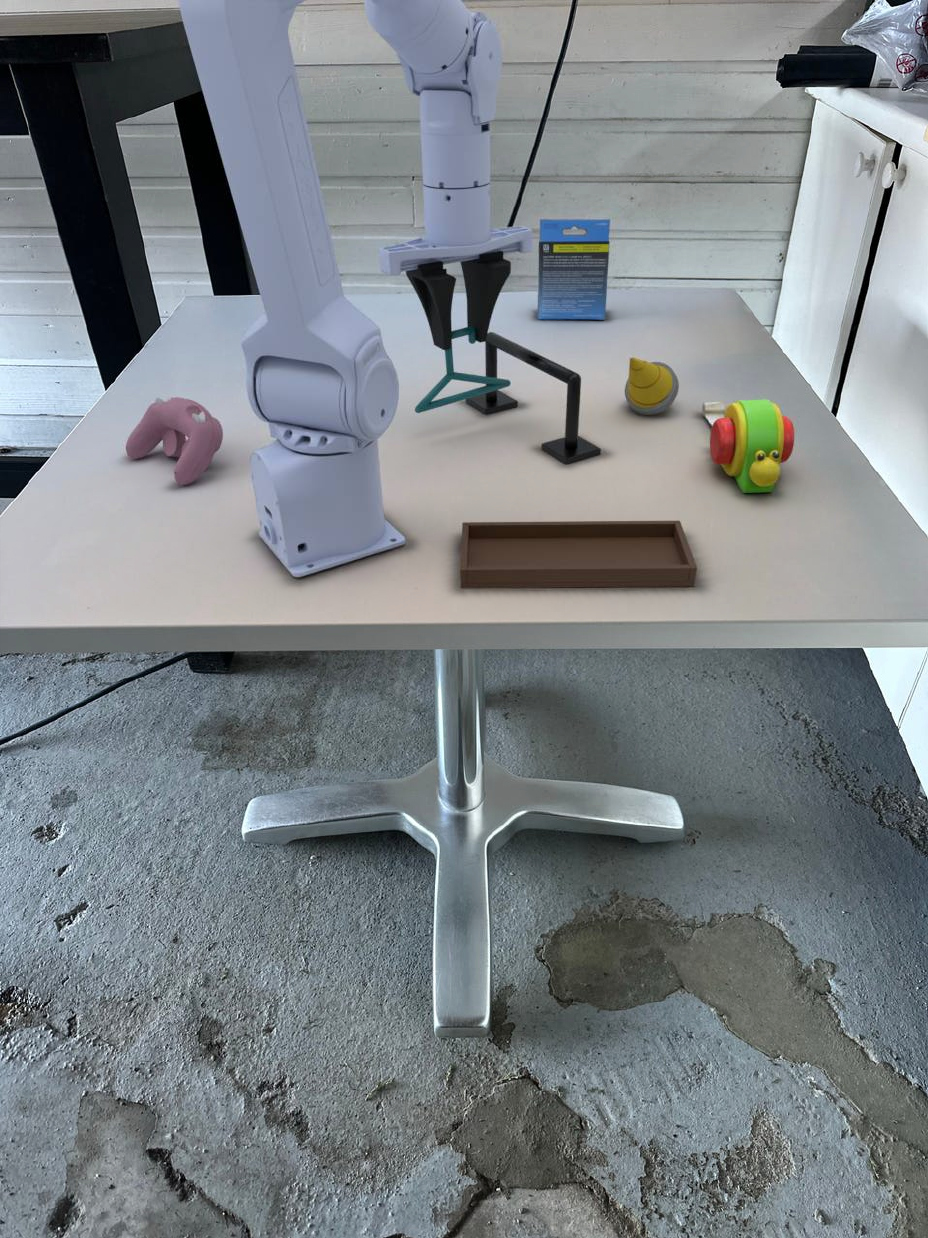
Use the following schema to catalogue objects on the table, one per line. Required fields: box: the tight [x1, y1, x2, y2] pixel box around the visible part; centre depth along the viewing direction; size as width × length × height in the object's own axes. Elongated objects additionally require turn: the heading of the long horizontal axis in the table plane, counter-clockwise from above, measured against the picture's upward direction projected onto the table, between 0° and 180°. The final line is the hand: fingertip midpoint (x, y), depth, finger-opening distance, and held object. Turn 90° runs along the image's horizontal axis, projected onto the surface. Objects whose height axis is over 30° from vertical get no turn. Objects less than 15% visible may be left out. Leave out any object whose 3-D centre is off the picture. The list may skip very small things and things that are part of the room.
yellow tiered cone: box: [624, 357, 680, 416], centre depth 89 cm, size 5×5×10 cm
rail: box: [465, 331, 602, 465], centre depth 87 cm, size 4×18×8 cm, turn 31°
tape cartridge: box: [536, 218, 611, 321], centre depth 114 cm, size 9×4×12 cm, turn 83°
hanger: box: [414, 326, 512, 414], centre depth 84 cm, size 11×1×7 cm, turn 121°
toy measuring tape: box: [701, 398, 795, 494], centre depth 80 cm, size 6×19×7 cm, turn 0°
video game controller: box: [125, 396, 224, 486], centre depth 82 cm, size 10×5×7 cm, turn 47°
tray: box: [459, 520, 698, 589], centre depth 67 cm, size 17×7×2 cm, turn 89°
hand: (460, 342), depth 83 cm, fingers closed on hanger, 3 cm apart
